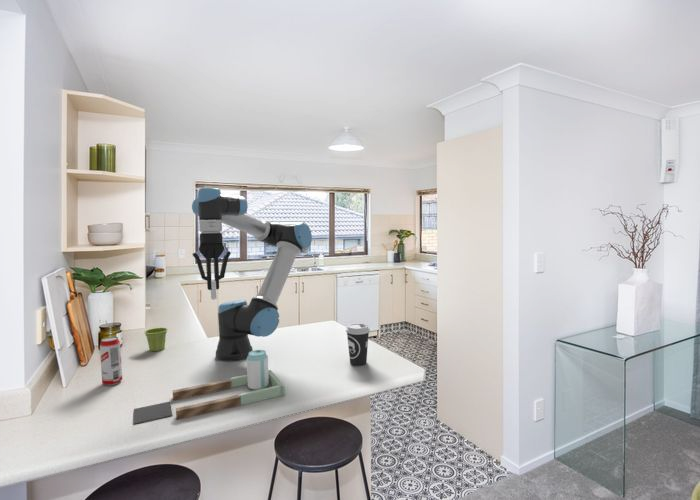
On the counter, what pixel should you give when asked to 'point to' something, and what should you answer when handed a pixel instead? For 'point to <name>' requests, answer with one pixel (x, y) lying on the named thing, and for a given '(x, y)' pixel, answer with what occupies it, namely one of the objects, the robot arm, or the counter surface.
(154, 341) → the plant pot
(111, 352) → the beer can
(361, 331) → the coffee cup
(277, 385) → the corral
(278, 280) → the robot arm
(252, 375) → the can
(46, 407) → the counter surface
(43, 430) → the counter surface
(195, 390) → the channel
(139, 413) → the pit mat
